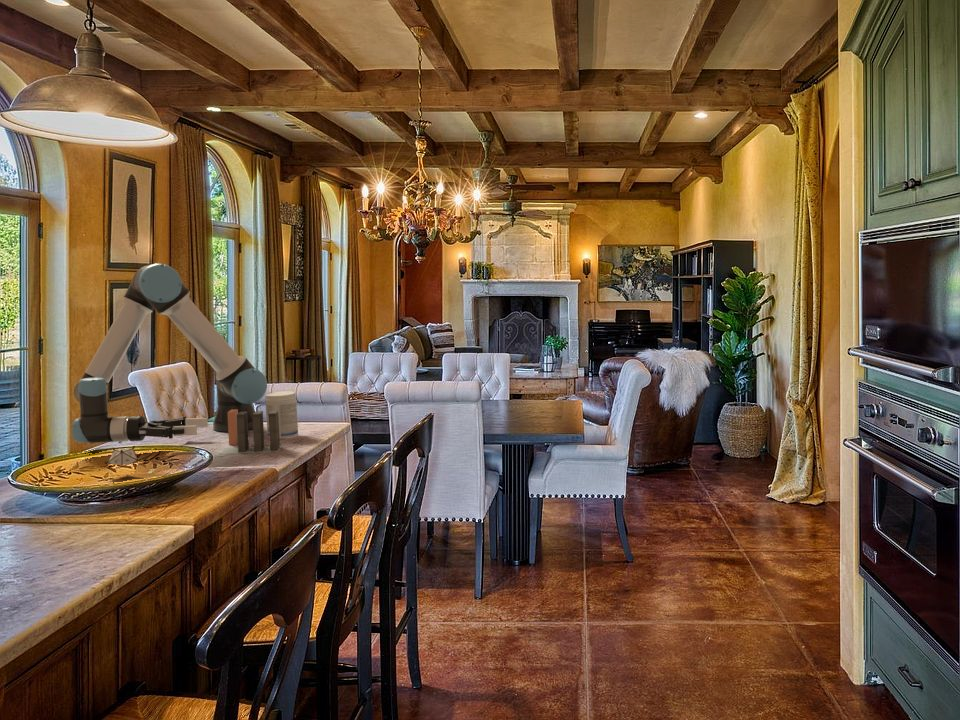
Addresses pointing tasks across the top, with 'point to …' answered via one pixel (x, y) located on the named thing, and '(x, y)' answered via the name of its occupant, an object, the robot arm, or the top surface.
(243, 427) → the domino
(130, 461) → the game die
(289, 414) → the supplement tub
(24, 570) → the top surface
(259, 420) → the domino
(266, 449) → the runner board
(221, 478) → the top surface
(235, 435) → the domino
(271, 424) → the domino
